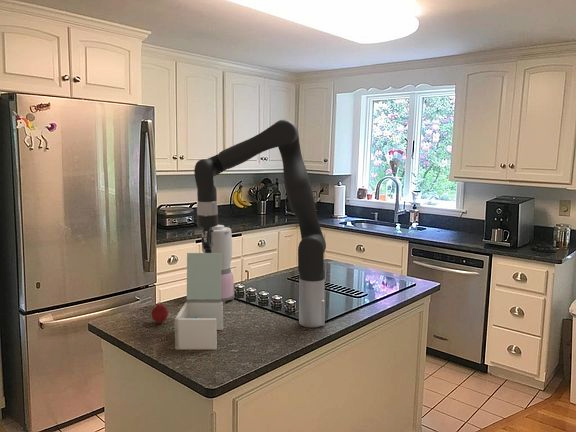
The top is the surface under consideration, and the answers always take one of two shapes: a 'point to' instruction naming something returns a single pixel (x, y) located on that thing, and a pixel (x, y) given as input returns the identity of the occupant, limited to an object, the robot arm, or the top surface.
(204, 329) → the box
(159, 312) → the onion
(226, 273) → the blender
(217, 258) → the lid
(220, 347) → the top surface
